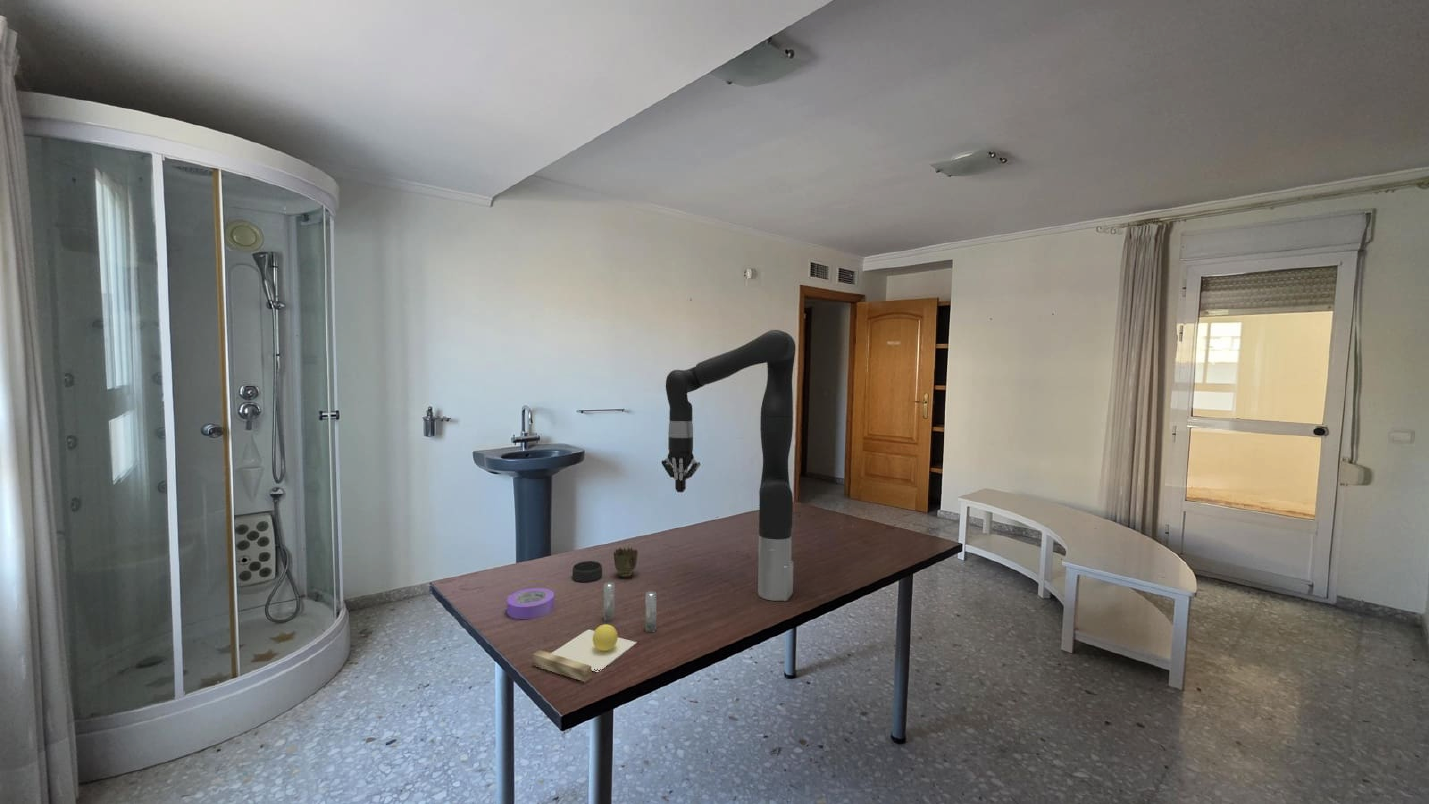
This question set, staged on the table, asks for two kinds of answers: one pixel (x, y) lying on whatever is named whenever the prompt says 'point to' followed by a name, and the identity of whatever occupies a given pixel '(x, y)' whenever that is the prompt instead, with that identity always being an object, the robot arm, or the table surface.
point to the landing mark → (592, 651)
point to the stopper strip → (561, 665)
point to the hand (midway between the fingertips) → (680, 491)
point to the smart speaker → (587, 571)
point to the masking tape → (530, 603)
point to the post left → (609, 601)
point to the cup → (625, 561)
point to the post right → (650, 611)
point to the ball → (605, 637)
